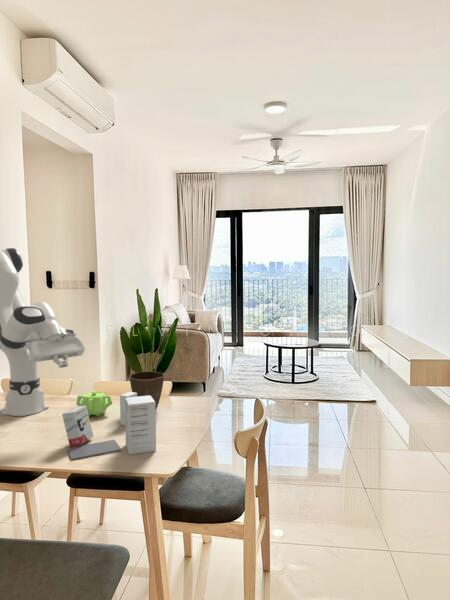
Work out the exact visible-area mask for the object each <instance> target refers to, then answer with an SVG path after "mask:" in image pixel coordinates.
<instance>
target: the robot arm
mask: <svg viewBox="0 0 450 600" xmlns="http://www.w3.org/2000/svg"><path fill="white" fill-rule="evenodd" d="M23 266H24V259H23V256H22V254H21V253H20V251H19V250H18V249H17V248H15V247H12V248H11V247H9V248H6V249H5V248H4V249H0V351H1V352H3V353H4V355H5V356H6V358H7V360H8V364H9V373H10V374H9V375H10V376H9V377H10V380H9V384H8V385H9V387H8V388H9V391H8V392H7V393H6V394H5V398H4V401H5V404H4V407H3V409H2V410H1V412H0V415H5V416H6V415H7V416H12V417H13V416H14V417H21V416H23V417H24V416H29V415H34V414H37V413H41V412H42V411H44V410H48V409H49V408H50V406H49V405H48V404H47V403H45V395H44V394H45V393H44V390H43V388H41V387H40V385H41V380H40V377H39V362H46V361H53V362H54V363H55V364H56V365H57V366H58V368H62V369H63V368H66V367H68V366H69V362H68V359H69V358H72V357H73V358H74V357H75V358H76V357H82V356H83V355H84V353H85V350H86V347H85V345H84V342H83V341H82V339H81V338H80V337H79V336H78V335H77V331H76V330H74V329H69V328H64V327H62V326H61V325H60V324H59V322H58V321H59V320H58V318H57V315H56V313H55V311H54V309H53V308H52V307H51V306H50V305H49V304H48V302H47V303H46V302H43V301H39V302H35V303H33V304H32V305H30V306H28V305H27V304H26V302H25V299H24V298H23V295H22V293H21V291H20V289H19V284H20V278H19V272H20V271H22V269H23ZM61 359H62V361H61Z"/></svg>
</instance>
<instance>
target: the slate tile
mask: <svg viewBox="0 0 450 600" xmlns="http://www.w3.org/2000/svg"><path fill="white" fill-rule="evenodd" d="M66 449H67V453H68V455H69V458H70V460H71V461H75V460H80V459H85V458H90V457H95V456H96V457H97V456H102V455H108V454H112V453H118V452H121V451H122V448H121V446H120V445H119V444H118V442H117V441H116V440H115V439H110V440H106V441H105V440H104V441H99V442H94V443H93V442H92V443H87V444H82V445H78V446H73V447H70V446H69V447H67V448H66Z"/></svg>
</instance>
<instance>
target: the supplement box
mask: <svg viewBox="0 0 450 600" xmlns="http://www.w3.org/2000/svg"><path fill="white" fill-rule="evenodd" d="M156 413H157V409H156V402H155V401H154V400H153V398H152V397H151V396H139V397H129V398H125V417H126V422H125V425H124V427H125V429H124V430H125V448H126V450H127V453H128V455H135V454H142V453H150V452H156V451H157V431H156V430H157V422H156V421H157V420H156V418H157V414H156Z"/></svg>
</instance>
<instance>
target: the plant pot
mask: <svg viewBox="0 0 450 600" xmlns="http://www.w3.org/2000/svg"><path fill="white" fill-rule="evenodd" d="M128 377H129V383H130V388H131V392H135V393H137V397H139V396H151V397H152V398H153V400H154V401H155V402H156V410H157V409H158V406H159V403H160V400H161V395H162V392H163V387H164V378H165V373H163V372H159V371H139V372H134V373H132V374H130V375H129V376H128Z"/></svg>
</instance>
